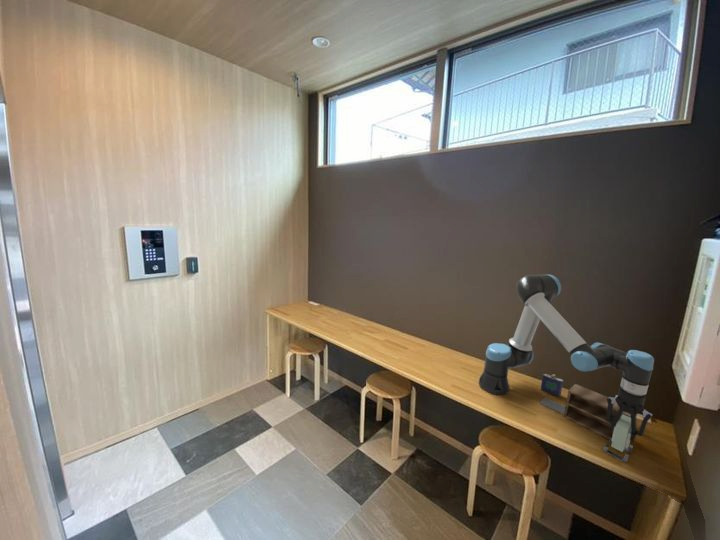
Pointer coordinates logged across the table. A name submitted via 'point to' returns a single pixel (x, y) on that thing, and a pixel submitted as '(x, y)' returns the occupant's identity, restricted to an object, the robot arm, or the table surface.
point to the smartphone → (553, 405)
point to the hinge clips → (616, 454)
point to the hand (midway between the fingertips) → (620, 443)
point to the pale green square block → (621, 433)
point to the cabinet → (590, 410)
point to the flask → (551, 385)
